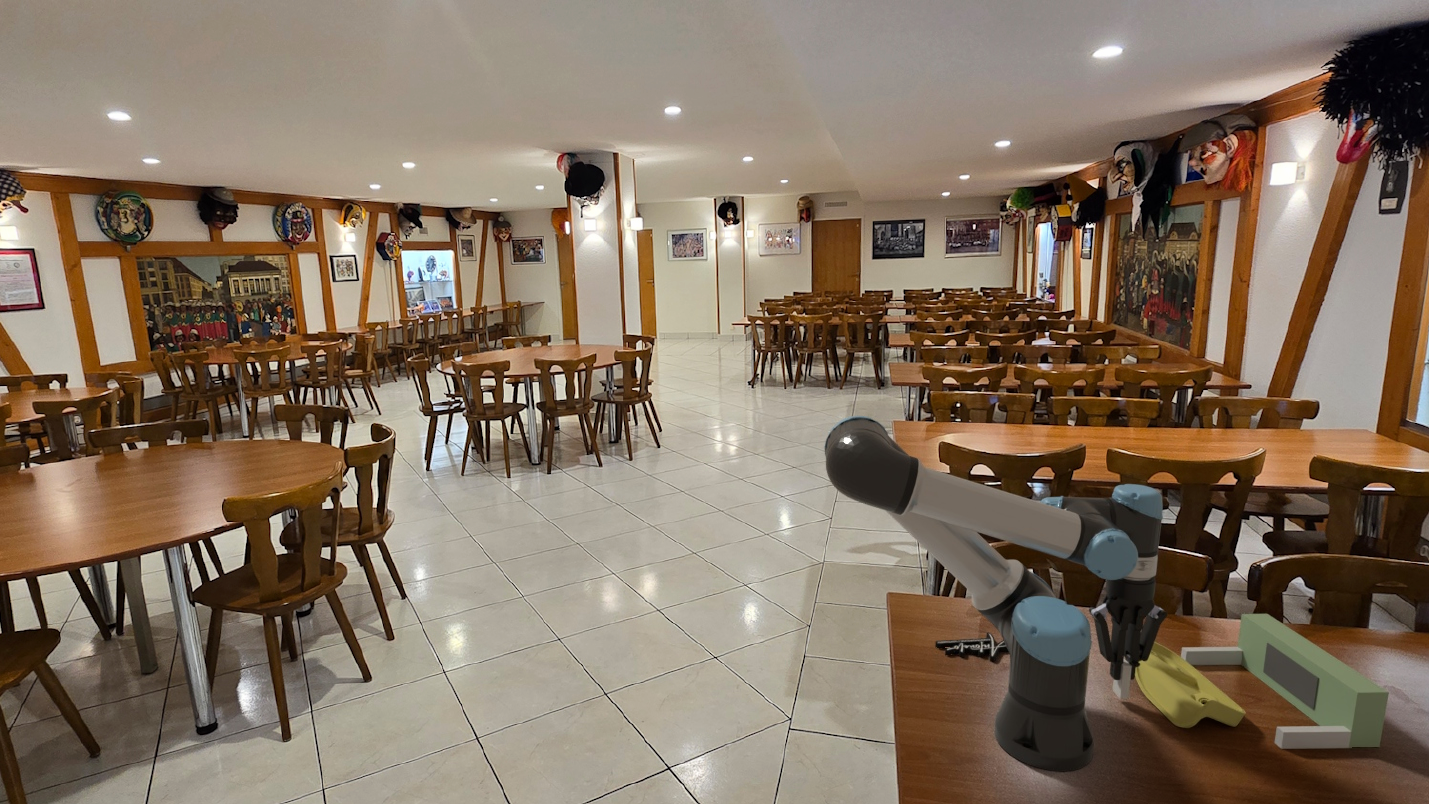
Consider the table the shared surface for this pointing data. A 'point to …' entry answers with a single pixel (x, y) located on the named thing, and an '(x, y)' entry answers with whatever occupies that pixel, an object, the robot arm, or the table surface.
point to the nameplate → (973, 647)
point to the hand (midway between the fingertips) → (1120, 694)
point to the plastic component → (1183, 690)
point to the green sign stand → (1304, 684)
